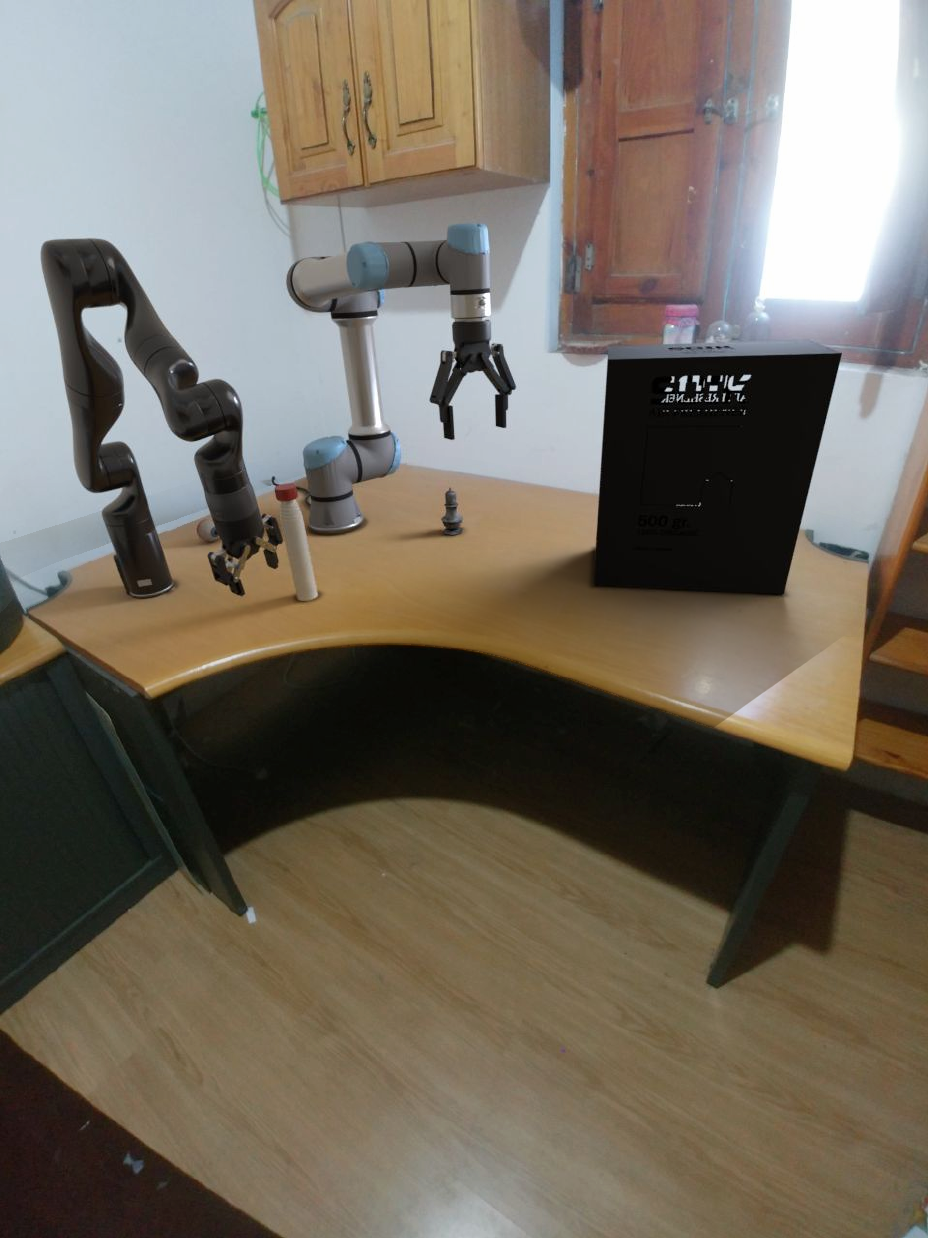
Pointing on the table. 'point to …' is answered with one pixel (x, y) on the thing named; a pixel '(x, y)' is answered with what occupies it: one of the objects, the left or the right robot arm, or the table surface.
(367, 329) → the right robot arm
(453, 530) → the salt shaker
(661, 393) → the cardboard box
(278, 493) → the cap
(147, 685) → the table surface
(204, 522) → the eyeball
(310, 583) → the bottle
